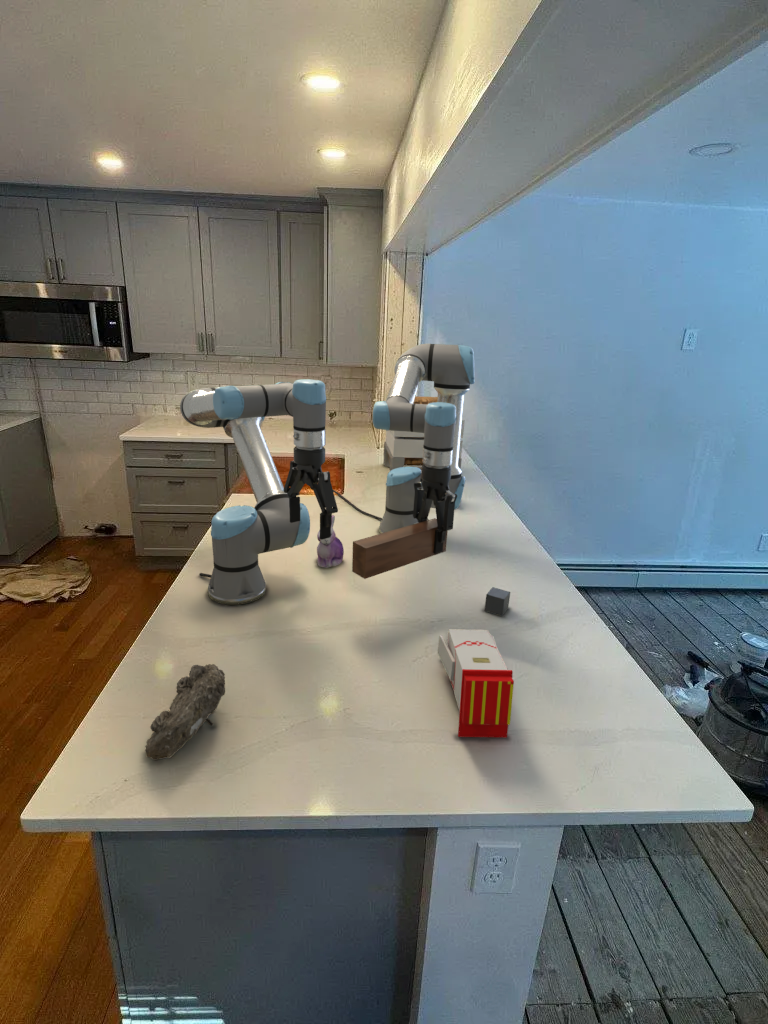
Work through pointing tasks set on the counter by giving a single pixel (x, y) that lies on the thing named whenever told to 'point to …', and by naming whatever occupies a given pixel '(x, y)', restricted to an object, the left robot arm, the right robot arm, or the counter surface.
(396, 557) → the plank
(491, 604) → the grey block
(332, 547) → the figurine
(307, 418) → the left robot arm
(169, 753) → the fossil
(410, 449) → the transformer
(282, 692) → the counter surface
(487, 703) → the toy
